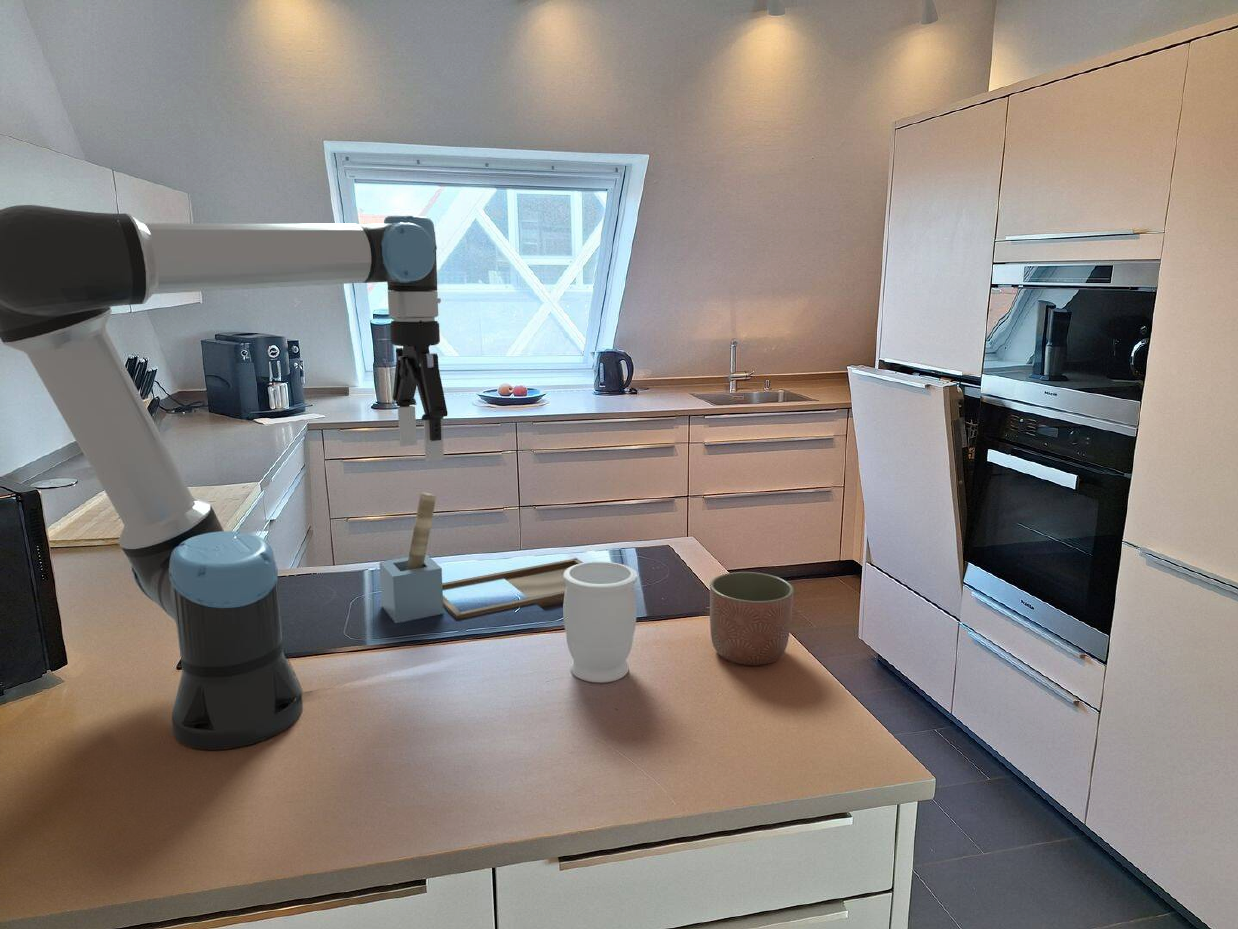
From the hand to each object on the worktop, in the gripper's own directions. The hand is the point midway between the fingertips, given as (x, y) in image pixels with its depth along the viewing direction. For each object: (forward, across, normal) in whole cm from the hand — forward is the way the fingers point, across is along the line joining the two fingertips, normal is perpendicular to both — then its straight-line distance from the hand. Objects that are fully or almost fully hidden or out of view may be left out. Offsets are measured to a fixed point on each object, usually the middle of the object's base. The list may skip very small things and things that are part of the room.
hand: (420, 452), depth 133 cm
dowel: (+27, 0, +1) cm, 27 cm away
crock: (+28, 0, +3) cm, 28 cm away
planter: (+28, -39, -37) cm, 61 cm away
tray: (+28, 0, -17) cm, 33 cm away
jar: (+28, -33, -15) cm, 45 cm away
